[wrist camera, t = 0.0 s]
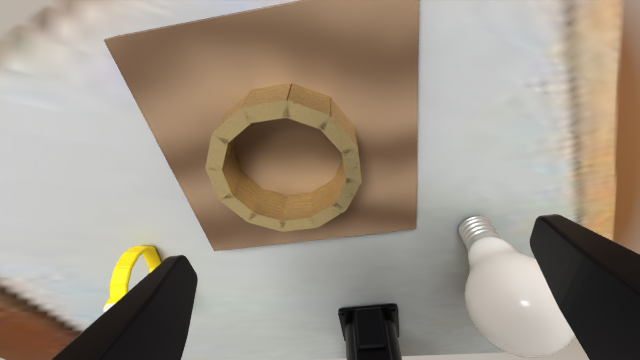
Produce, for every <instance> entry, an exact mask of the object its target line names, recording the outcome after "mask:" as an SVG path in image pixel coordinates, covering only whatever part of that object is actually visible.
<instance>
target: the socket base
mask: <svg viewBox="0 0 640 360" xmlns="http://www.w3.org/2000/svg"><path fill="white" fill-rule="evenodd" d="M418 35H419V0H300V1H295V2H290V3H285V4H280V5H274V6H269V7H264V8H259V9H254V10H249V11H243V12H238V13H233V14H228V15H223V16H218V17H212V18H207V19H202V20H197V21H192V22H187V23H181V24H176V25H171V26H166V27H161V28H156V29H150V30H145V31H140V32H135V33H130V34H125V35H119V36H114V37H111V38H108V39H105V40H104V42H105V43H106V45H107V47H108V49H109V51H110V53H111V55H112V57H113V59H114V61H115V63H116V64H117V66H118V68H119V70H120V72H121V74H122V76H123V78H124V80H125V82H126V84H127V85H128V87H129V89H130V91H131V93H132V95H133V97H134V99H135V101H136V103H137V105H138V106H139V108H140V110H141V112H142V114H143V116H144V118H145V120H146V122H147V124H148V126H149V127H150V129H151V131H152V133H153V135H154V137H155V139H156V141H157V143H158V145H159V147H160V148H161V150H162V152H163V154H164V156H165V158H166V160H167V162H168V164H169V166H170V168H171V169H172V171H173V173H174V175H175V177H176V179H177V181H178V183H179V185H180V187H181V189H182V190H183V192H184V194H185V196H186V198H187V200H188V202H189V204H190V206H191V208H192V210H193V211H194V213H195V215H196V217H197V219H198V221H199V223H200V225H201V227H202V229H203V231H204V232H205V234H206V236H207V238H208V240H209V242H210V244H211V246H212V248H213V250H214V251H219V250H228V249H237V248H247V247H256V246H265V245H274V244H283V243H292V242H301V241H310V240H319V239H329V238H338V237H347V236H356V235H365V234H374V233H383V232H392V231H401V230H410V229H416V203H417V119H418ZM287 83H294V84H297V85H300V86H302V87H305V88H308V89H310V90H313V91H316V92H319V93H321V94H324V95H327V96H329V97H331V98H332V99H333V101H334V102H335V103H336V104H337V106H338V107H339V108H340V109H341V110H342V112H343V113H344V114H345V115H346V116H347V118H348V119H349V120H350V121H351V123H352V124H353V125H354V128H355V134H356V139H357V145H358V152H359V161H360V170H361V179H362V183H361V185H360V186H359V188H358V190H357V192H356V194H355V195H354V197H353V199H352V201H351V203H350V204H349V206H348V208H347V210H346V211H345V212H343V213H341V214H340V215H338V216H336V217H335V218H333V219H331V220H330V221H328V222H326V223H325V224H323V225H321V226H320V227H318V228H312V229H303V230H294V231H285V232H283V231H282V232H281V231H277V230H274V229H270V228H266V227H263V226H259V225H255V224H252V223H248V222H247V221H245V220H244V219H243V218H241V217H240V216H239V215H238V214H236V213H235V212H234V211H232V210H231V209H230V208H229V207H227V206H226V205H225V204H224V203H222V202H221V201H220V200H219V198H218V196H217V194H216V191H215V189H214V187H213V185H212V183H211V180H210V178H209V176H208V174H207V171H206V168H205V167H206V162H207V156H208V151H209V146H210V141H211V135H212V133H213V132H214V130H215V129H216V127H217V126H218V124H219V123H220V121H221V120H222V118H223V117H224V115H225V114H226V113H227V112H228V111H229V110H230V109H231V108H232V107H233V106H234V105H235V104H236V103H238V102H239V101H240V100H241V99H242V98H243V97H244V96H245V95H246V94H247V93H249V92H250V91H251V90H253V89H257V88H263V87H269V86H275V85H281V84H287ZM234 150H235V153H236V155H237V158H238V161H239V163H240V166H241V169H242V171H243V172H244V173H245V174H247V175H248V176H249V177H250V178H251V179H252V180H253V181H255V182H256V183H257V184H258V185H259V186H260V187H261V188H264V189H267V190H271V191H274V192H277V193H281V194H284V195H294V194H302V193H310V192H313V191H315V190H316V189H318V188H320V187H321V186H323V185H324V184H326V183H327V182H329V181H330V180H332V179H333V178H334V176H335V173H336V171H337V169H338V167H339V165H340V163H341V161H342V159H343V158H342V153H341V152H340V151H339V150H338V149H337V147H336V146H335V145H334V144H333V143H332V142H331V141H330V140H329V138H328V137H327V136H326V135H325V134H324V133H323V132H322V131H321V130H320V129H318V128H315V127H312V126H309V125H306V124H303V123H300V122H298V121H295V120H292V119H289V118H281V119H274V120H268V121H261V122H255V123H251V124H250V125H249V126H247V127H246V128H245V129H244V130H243V131H242V132H240V133H239V134H238V135H237V136H236V138H235V142H234Z"/></svg>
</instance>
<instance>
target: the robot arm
mask: <svg viewBox="0 0 640 360" xmlns="http://www.w3.org/2000/svg"><path fill="white" fill-rule="evenodd" d="M530 247H531V250H532V252H533V254H534V256H535V259H536V261H537V263H538V265H539V267H540V269H541V271H542V274H543V276H544V278H545V280H546V282H547V284H548V286H549V289H550V291H551V293H552V295H553V297H554V299H555V301H556V303H557V305H558V307H559V309H560V311H561V313H562V314H563V316H564V318H565V319H566V321H567V323H568V324H569V326H570V328H571V329H572V331H573V333H574V334H575V336H576V338H577V339H578V341H579V343H580V344H581V346H582V347H583V349H584V351H585V352H586V354H587V356H588V358H589V359H590V360H640V254H638V253H635V252H634V251H632V250H629V249H627V248H625V247H623V246H621V245H619V244H617V243H615V242H613V241H611V240H609V239H607V238H605V237H603V236H601V235H599V234H597V233H595V232H593V231H591V230H589V229H587V228H585V227H583V226H581V225H579V224H577V223H575V222H573V221H571V220H569V219H567V218H565V217H563V216H561V215H558V214H552V215H543V216H539V217H538V218H537V219H536V221H535V224H534V228H533V231H532V234H531V237H530ZM196 288H197V274H196V272H195V271H194V269H193V267H192V266H191V264H190V262H189V261H188V259H187V258H186V257H185V256H184V255H179V256H170V257H168V258H166V259H165V260H164V261H163V262H162V263H161V264H159V265H158V266H157V267H156V268H155V269H154V270H153V271H151V272H150V273H149V274H148V275H147V276H146V277H145V278H144V279H142V280H141V281H140V282H139V283H138V284H137V285H136V286H134V287H133V288H132V289H131V290H130V291H129V292H128V293H126V294H125V295H124V296H123V297H122V298H121V299H120V300H118V301H117V302H116V303H115V304H114V305H113V306H112V307H111V308H109V309H108V310H107V311H106V312H105V313H104V314H103V315H101V316H100V317H99V318H98V319H97V320H96V321H95V322H93V323H92V324H91V325H90V326H89V327H88V328H87V329H85V330H84V331H83V332H82V333H81V334H80V335H79V336H77V337H76V338H75V339H74V340H73V341H72V342H71V343H70V344H68V345H67V346H66V347H65V348H64V349H63V350H62V351H60V352H59V353H58V354H57V355H56V356H55V357H54V358H52V359H51V360H181V357H182V354H183V350H184V347H185V343H186V339H187V335H188V330H189V325H190V320H191V315H192V309H193V304H194V298H195V293H196ZM338 315H339V319H340V323H341V328H342V332H343V336H344V340H345V342H346V354H347V360H402V358H401V352H400V347H399V342H398V338H399V324H398V308H397V305H396V304H387V305H375V306H364V307H352V308H341V309H339V310H338Z"/></svg>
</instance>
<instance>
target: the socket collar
mask: <svg viewBox="0 0 640 360" xmlns="http://www.w3.org/2000/svg"><path fill="white" fill-rule="evenodd" d="M281 118H289V119H292V120H295V121H298V122H300V123H303V124H306V125H309V126H312V127H315V128H318V129H320V130H321V131H322V132H323V133H324V134H325V135H326V136H327V137H328V138H329V140H330V141H331V142H332V143H333V144H334V145H335V146H336V147H337V149H338V150H339V151H340V152H341V153H342V158H343V159H342V161H341V163H340V165H339V167H338V169H337V171H336V173H335V176H334V178H333V179H332V180H330V181H329V182H327V183H326V184H324V185H323V186H321V187H320V188H318V189H316V190H315V191H313V192H310V193H302V194H294V195H284V194H281V193H277V192H274V191H271V190H267V189H264V188H261V187H260V186H259V185H258V184H257V183H256V182H255V181H253V180H252V179H251V178H250V177H249V176H248V175H247V174H245V173H244V172H243V171H242V169H241V166H240V163H239V161H238V158H237V155H236V153H235V150H234V142H235V138H236V136H237V135H238V134H239V133H240V132H242V131H243V130H244V129H245V128H246V127H247V126H249V125H250V124H251V123H255V122H261V121H268V120H274V119H281ZM205 168H206V171H207V174H208V176H209V178H210V180H211V183H212V185H213V187H214V189H215V191H216V194H217V196H218V198H219V200H220V201H221V202H222V203H224V204H225V205H226V206H227V207H229V208H230V209H231V210H232V211H234V212H235V213H236V214H238V215H239V216H240V217H241V218H243V219H244V220H245V221H247V222H248V223H252V224H255V225H259V226H263V227H266V228H270V229H274V230H277V231H281V232H282V231H283V232H285V231H294V230H303V229H312V228H318V227H320V226H321V225H323V224H325V223H326V222H328V221H330V220H331V219H333V218H335V217H336V216H338V215H340V214H341V213H343V212H345V211H346V210H347V208H348V206H349V204H350V203H351V201H352V199H353V197H354V195H355V194H356V192H357V190H358V188H359V186H360V185H361V183H362V179H361V170H360V161H359V152H358V145H357V139H356V134H355V128H354V125H353V124H352V123H351V121H350V120H349V119H348V118H347V116H346V115H345V114H344V113H343V112H342V110H341V109H340V108H339V107H338V106H337V104H336V103H335V102H334V101H333V99H332V98H331V97H329V96H327V95H324V94H321V93H319V92H316V91H313V90H310V89H308V88H305V87H302V86H300V85H297V84H294V83H287V84H281V85H275V86H269V87H263V88H257V89H253V90H251V91H250V92H249V93H247V94H246V95H245V96H244V97H243V98H242V99H241V100H240V101H239V102H238V103H236V104H235V105H234V106H233V107H232V108H231V109H230V110H229V111H228V112H227V113H226V114H225V115H224V117H223V118H222V120H221V121H220V123H219V124H218V126H217V127H216V129H215V130H214V132H213V133H212V135H211V141H210V146H209V151H208V156H207V162H206V167H205Z"/></svg>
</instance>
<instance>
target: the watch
mask: <svg viewBox="0 0 640 360" xmlns="http://www.w3.org/2000/svg"><path fill="white" fill-rule="evenodd" d="M141 254H143V256H144V258H145V260H146V262H147V264H148V266H149V273H150V272H151V271H153V270H154V269H155V268H156V267H157V266H158V265H159V264H161V260H160V258H159V256H158V254H157V251H156V249H155V247H150V246H134V247H132V248H130V249H129V250H127V251H126V252H124V254H123V255H122V256H121V258H120V259H119V261H118V263H117V264H116V266H115V268H114V271H113V275H112V278H111V282H110V298H109V299H108V301H107V302H106V304H105V305H104V312H106V311H107V310H108V309H109V308H111V307H112V306H113V305H114V304H115V303H116V302H117V301H118V300H120V299H121V298H122V297H123V296H124V295H125V294H126V293H128V283H129V279H130V275H131V271H132V268H133V266H134V264H135V262H136V261H137V259H138V257H139V256H140V255H141Z"/></svg>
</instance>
